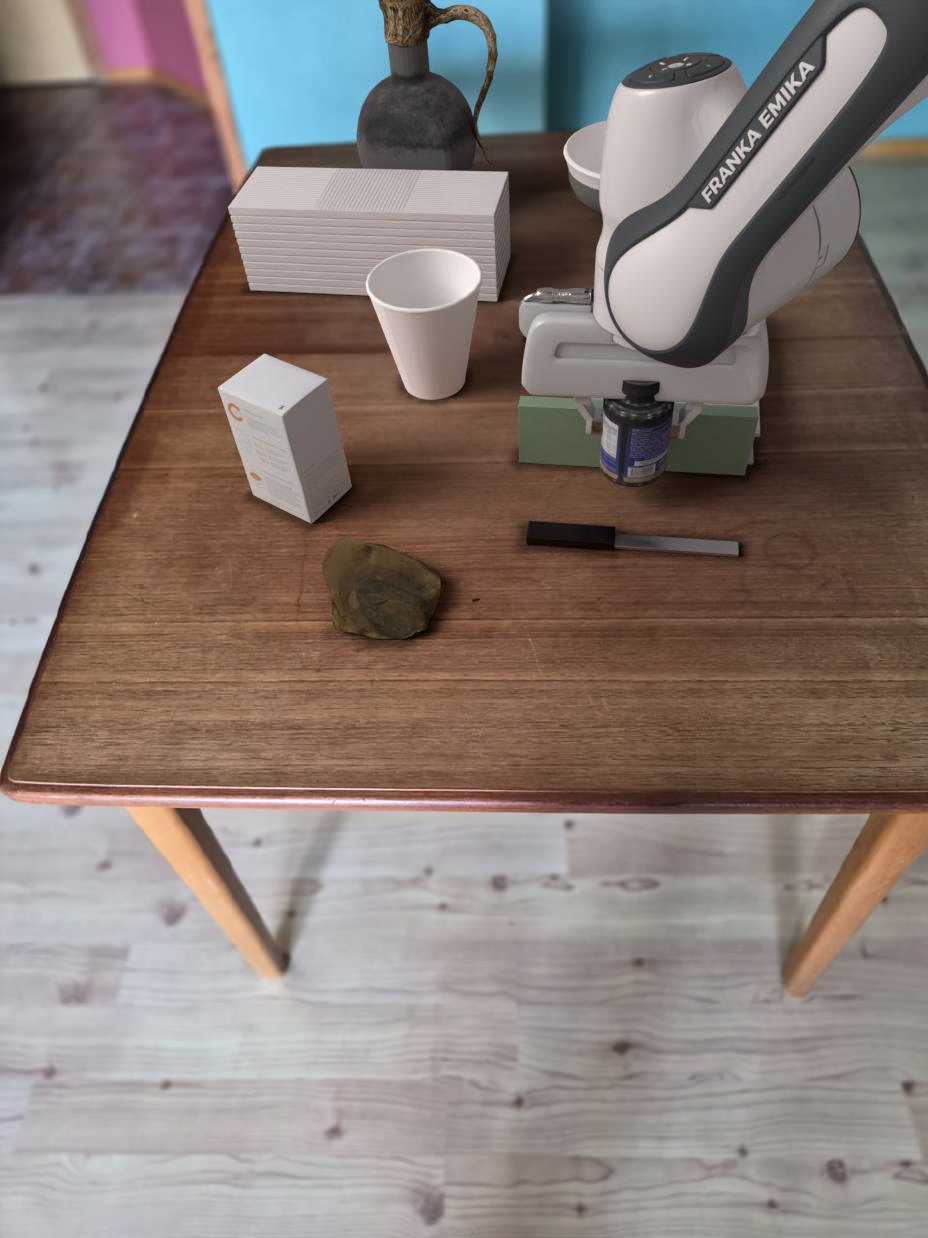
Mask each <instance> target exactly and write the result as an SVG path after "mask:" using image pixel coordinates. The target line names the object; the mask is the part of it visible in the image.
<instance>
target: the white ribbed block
mask: <svg viewBox="0 0 928 1238" xmlns="http://www.w3.org/2000/svg"><path fill="white" fill-rule="evenodd" d="M509 179H510V175H509V171H486V170H483V171H482V170H470V171H444V170H399V169H363V168H353V167H351V168H349V167H347V168H346V167H345V168H343V167H342V168H341V167H307V166H306V167H303V166H301V167H300V166H261V165H260V166H256V167H255V169H254V170H253V172H252V173H251V174H250V176H249V177H248V179H247V180H246V181H245V183H244V184H243V185H242V187H241V188H240V190H239V191H238V193H237V194H236V195H235V197H234V198H233V199H232V201H231V202H230V203H229V205H228V206H227V209H228V214H229V215H230V216H229V217H230V220H231V221H230V222H231V223H232V228H233V231H234V236H235V238H236V243H237V246H238V250H239V253H240V258H241V261H243V262H242V265H243V268H244V272H245V275H246V280H247V283H248V287H249V290H250V291H262V292H283V293H302V294H303V293H304V294H305V293H306V294H307V293H308V294H325V295H346V296H347V295H350V296H368V297H370V296H369V295H368V293H367V289H366V281H367V277H368V275H369V273H370V272H371V271H372V270H373V268H374V267H375V266H376V265H378V264H379V263H381V262H382V261H383V260H385V259H387V258H389V257H391V256H394V255H396V254H399V253H403V252H406V251H410V250H417V249H424V248H439V249H447V250H453V251H456V252H459V253H462V254H465V255H466V256H468V257H470V258H472V259H473V260H474V261H475V262H476V263H477V264H478V265H479V266H480V269H481V271H482V274H483V277H482V284H481V286H480V290H479V296H478V301H479V302H498V300H499V297H500V293H501V290H502V287H503V283H504V280H505V276H506V274H507V269H508V267H509V263H510V260H511V254H512V253H511V220H510V219H511V216H510V215H511V214H510V181H509Z"/></svg>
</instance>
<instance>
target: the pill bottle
mask: <svg viewBox="0 0 928 1238" xmlns="http://www.w3.org/2000/svg"><path fill="white" fill-rule="evenodd" d="M659 389H660V382H659V381H636V380H623V384H622V392H623V394H625V395H626V397H625V399H605V398H604V400H603V426H602V435H601V450H600V467H599V469H600V471H601V473H602V474H603V476H604V477H605V479H607V480H608V481H610V482H611V483H613V484H616V485H619V486H622V487H626V488H642V487H643V488H644V487H646V486H650V485H652V484H654V483H656V482H657V481H658V480H660V479H661V478H662V477H663V475H664V473H665V472H666V471H665V468H666V461H667V454H668V447H669V440H670V438H669V434H670V427H671V423H672V418H673V410H674V404H675V402H670V401H655V397H654V396H655V395H656V394H657V393H659Z"/></svg>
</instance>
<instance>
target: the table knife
mask: <svg viewBox="0 0 928 1238" xmlns="http://www.w3.org/2000/svg"><path fill="white" fill-rule="evenodd" d="M525 539H526V545H527V546H540V547H553V548H554V547H555V548H569V549H581V550H596V551H597V550H598V551H608V552H609V551H615V550H630V551H644V552H656V553H657V552H658V553H659V552H660V553H671V554H685V555H701V556H713V557H714V556H715V557H717V556H718V557H727V558H728V557H729V558H739V554H740V552H739V541H731V540H717V539H715V540H714V539H703V538H702V539H701V538H689V537H672V536H658V535H645V534H632V533H631V534H630V533H629V534H628V533H616V526H615V525H614V526H613V525H599V524H585V523H584V524H583V523H569V522H557V521H555V522H553V521H539V520H528V525H527V531H526V538H525Z"/></svg>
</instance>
